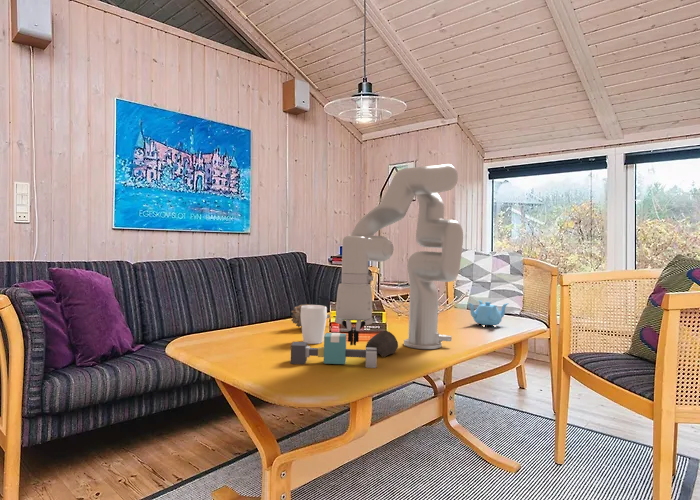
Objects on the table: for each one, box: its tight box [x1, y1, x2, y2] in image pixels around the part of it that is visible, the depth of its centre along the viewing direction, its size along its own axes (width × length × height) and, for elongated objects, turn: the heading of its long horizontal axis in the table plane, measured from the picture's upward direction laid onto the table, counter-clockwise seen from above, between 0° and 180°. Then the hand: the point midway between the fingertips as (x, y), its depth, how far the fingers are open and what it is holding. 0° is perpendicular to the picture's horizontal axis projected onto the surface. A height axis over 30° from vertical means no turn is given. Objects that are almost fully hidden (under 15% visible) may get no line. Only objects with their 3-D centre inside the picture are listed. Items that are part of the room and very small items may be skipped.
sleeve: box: [323, 332, 348, 365], centre depth 133 cm, size 6×5×8 cm
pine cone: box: [290, 303, 331, 329], centre depth 184 cm, size 22×10×10 cm, turn 136°
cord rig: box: [290, 341, 378, 369], centre depth 133 cm, size 24×7×5 cm, turn 88°
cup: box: [300, 304, 328, 345], centre depth 160 cm, size 9×9×12 cm
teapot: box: [468, 299, 509, 326], centre depth 198 cm, size 13×13×10 cm
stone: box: [365, 330, 399, 358], centre depth 146 cm, size 10×8×10 cm
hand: (353, 344), depth 133 cm, fingers closed
